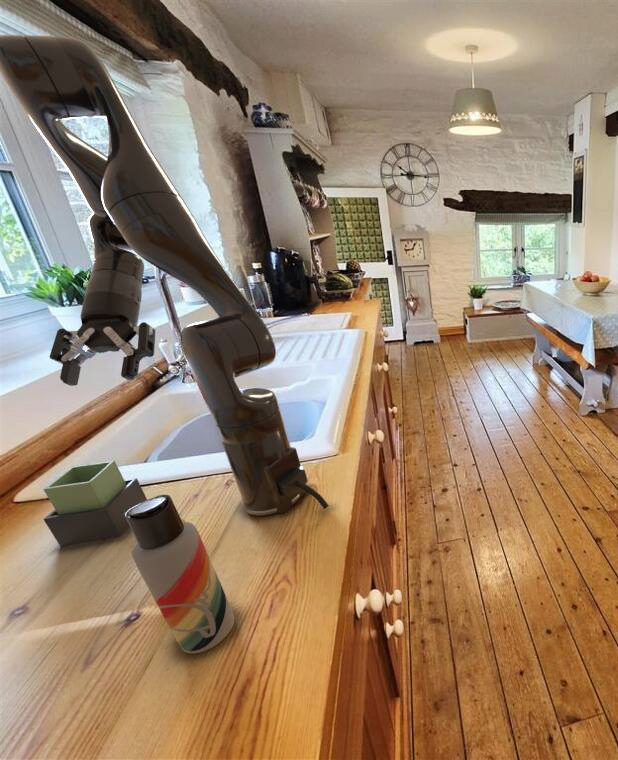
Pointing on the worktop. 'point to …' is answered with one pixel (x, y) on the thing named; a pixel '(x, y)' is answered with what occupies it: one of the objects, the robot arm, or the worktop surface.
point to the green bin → (85, 487)
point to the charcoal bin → (96, 518)
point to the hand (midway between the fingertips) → (98, 381)
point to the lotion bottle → (179, 575)
